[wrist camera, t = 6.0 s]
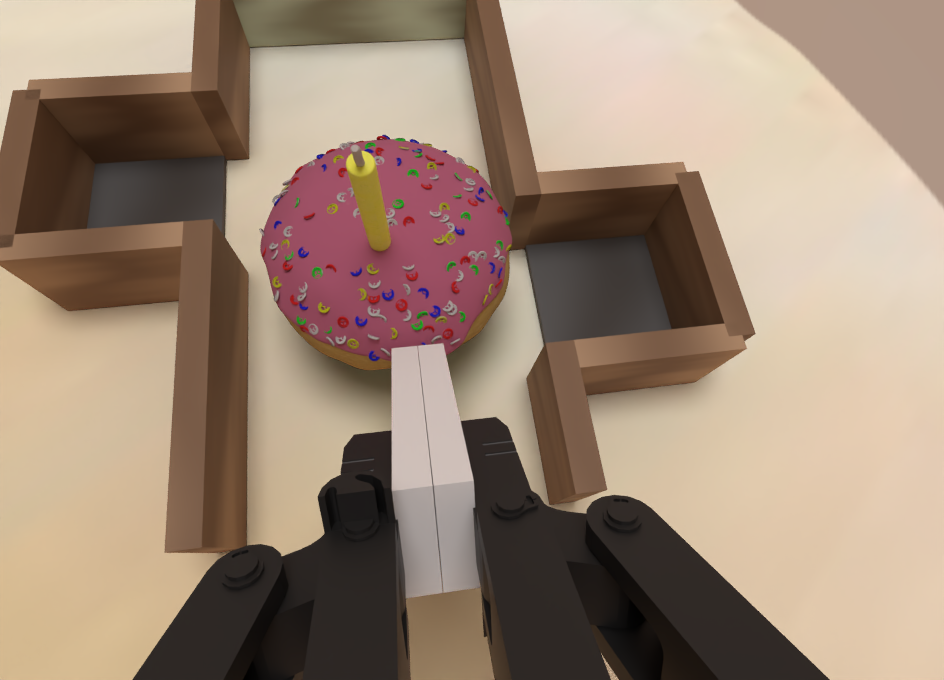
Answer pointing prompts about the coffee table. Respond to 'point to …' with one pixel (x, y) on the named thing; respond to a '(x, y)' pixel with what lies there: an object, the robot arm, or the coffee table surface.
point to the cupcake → (386, 250)
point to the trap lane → (226, 280)
